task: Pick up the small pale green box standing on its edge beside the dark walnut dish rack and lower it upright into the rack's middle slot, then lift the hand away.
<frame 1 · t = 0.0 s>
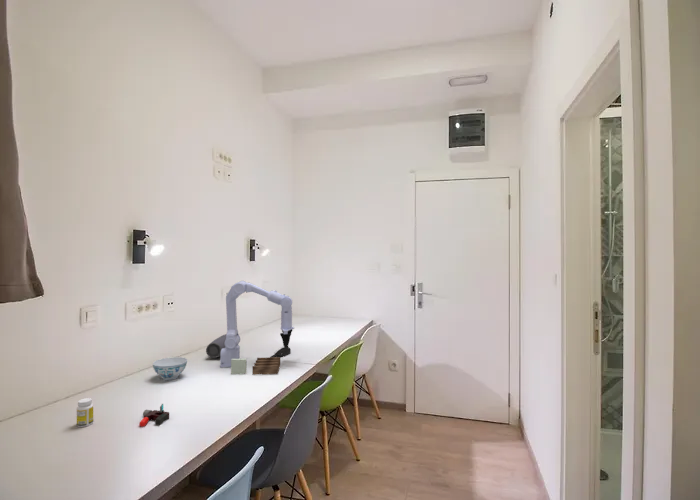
hand: (286, 344, 205), 10 cm above the table, tool pointing down, fingers open, 7 cm apart
dish rack: (267, 369, 195), on the table
toy gun: (149, 422, 137), on the table
bluetooth speaker: (220, 355, 223), on the table
supplement bottle: (85, 425, 134), on the table
chinaware: (170, 378, 182), on the table
hairbrush: (277, 358, 218), on the table
pale green box: (238, 373, 189), on the table
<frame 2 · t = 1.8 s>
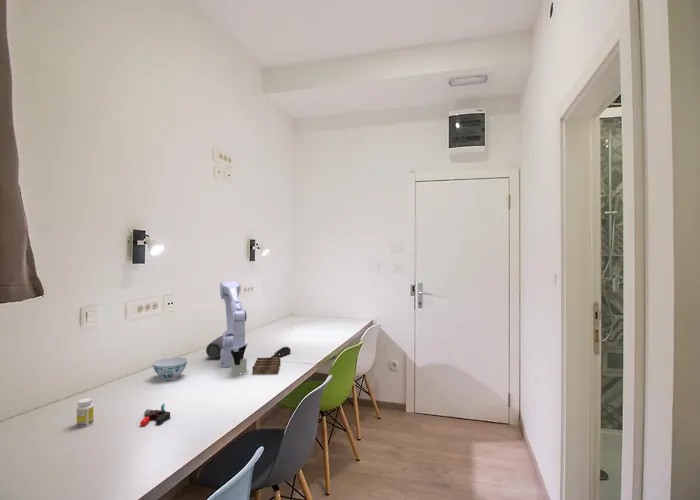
hand: (238, 362, 189), 5 cm above the table, tool pointing down, fingers open, 7 cm apart
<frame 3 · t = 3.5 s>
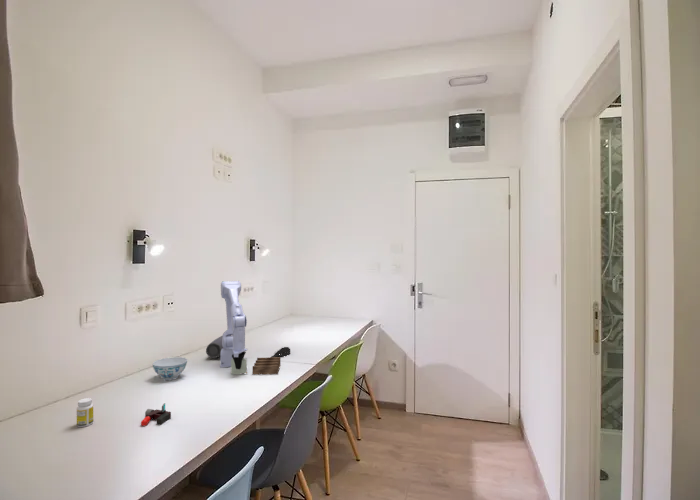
hand: (238, 368, 189), 3 cm above the table, tool pointing down, fingers closed on pale green box, 2 cm apart
pale green box: (238, 373, 189), on the table, touching gripper
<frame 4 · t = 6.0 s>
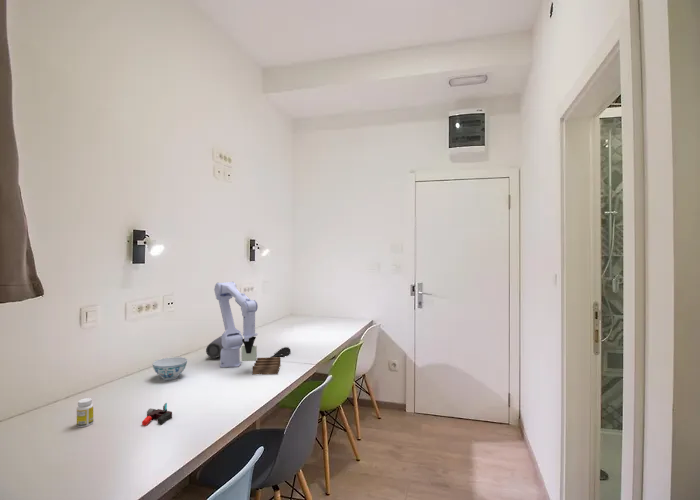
hand: (249, 352, 191), 10 cm above the table, tool pointing down, fingers closed on pale green box
pale green box: (249, 360, 191), point 6 cm above the table, touching gripper
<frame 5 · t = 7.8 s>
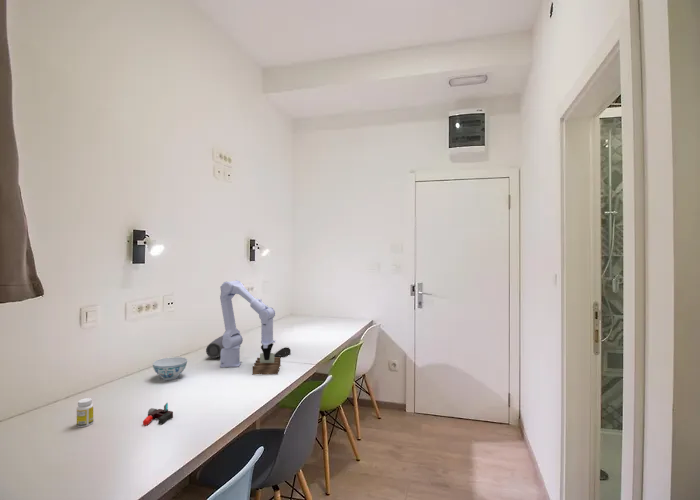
hand: (267, 359, 195), 5 cm above the table, tool pointing down, fingers closed on pale green box, 2 cm apart
pale green box: (267, 367, 195), point 1 cm above the table, touching dish rack, gripper
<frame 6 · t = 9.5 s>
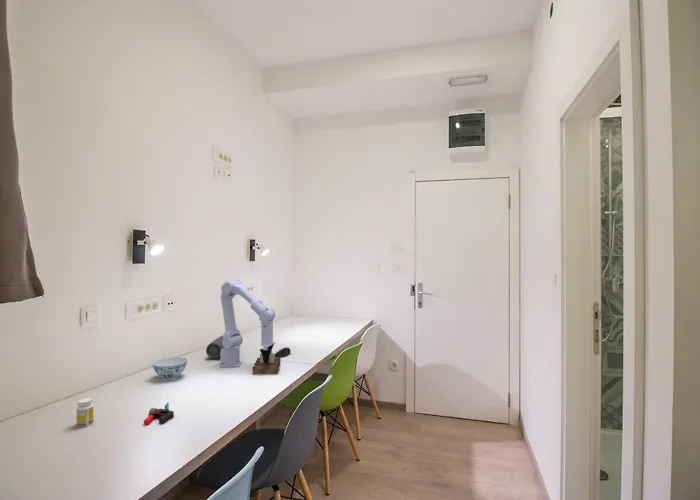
hand: (267, 360, 195), 4 cm above the table, tool pointing down, fingers open, 7 cm apart
pale green box: (267, 367, 195), point 1 cm above the table, touching dish rack
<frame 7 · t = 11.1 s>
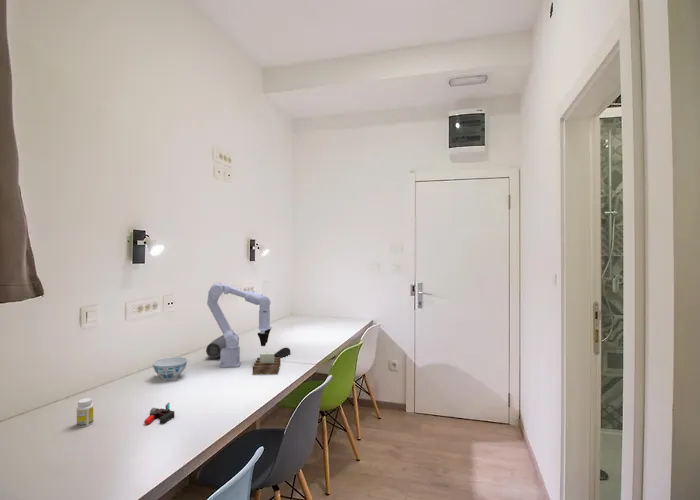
hand: (264, 344, 207), 10 cm above the table, tool pointing down, fingers open, 7 cm apart
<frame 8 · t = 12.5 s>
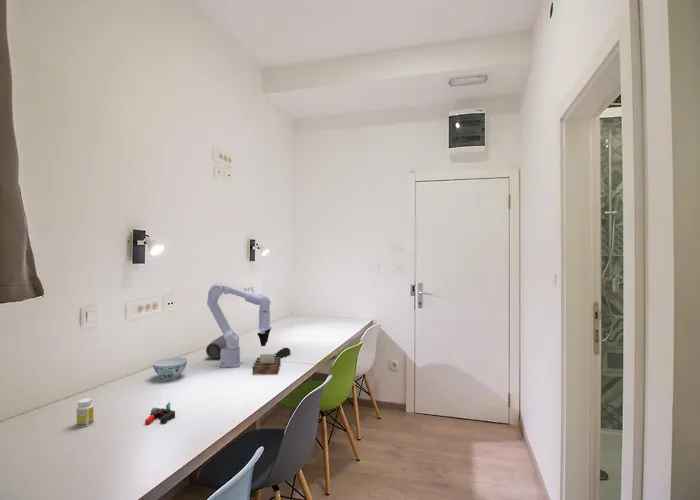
hand: (264, 344, 207), 10 cm above the table, tool pointing down, fingers open, 7 cm apart
at the end: pale green box 0.1 cm off-centre on the dish rack, point 1.0 cm above the dish rack's base; pale green box tilted 0°; the gripper is holding nothing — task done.
